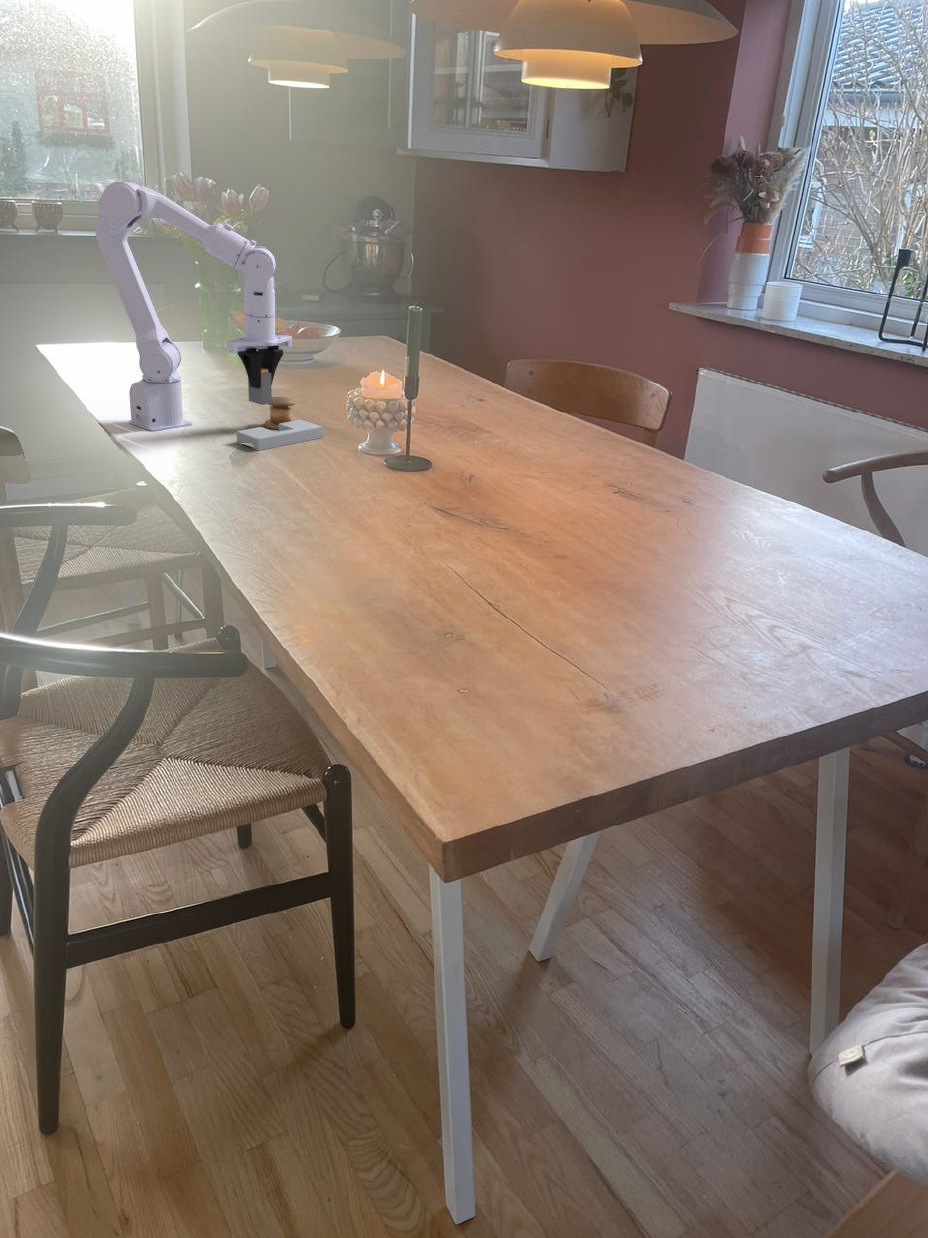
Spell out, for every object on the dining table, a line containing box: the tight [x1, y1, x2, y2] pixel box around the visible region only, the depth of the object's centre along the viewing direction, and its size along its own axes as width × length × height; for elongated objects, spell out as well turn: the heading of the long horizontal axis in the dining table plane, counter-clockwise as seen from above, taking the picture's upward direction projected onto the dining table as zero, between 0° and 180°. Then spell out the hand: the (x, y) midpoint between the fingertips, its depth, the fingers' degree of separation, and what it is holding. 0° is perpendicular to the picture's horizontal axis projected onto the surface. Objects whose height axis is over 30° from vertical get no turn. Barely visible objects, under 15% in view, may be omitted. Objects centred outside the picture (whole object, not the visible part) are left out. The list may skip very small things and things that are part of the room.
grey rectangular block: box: [247, 368, 273, 406], centre depth 187 cm, size 2×4×7 cm, turn 51°
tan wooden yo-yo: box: [264, 396, 296, 431], centre depth 192 cm, size 6×6×5 cm
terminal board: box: [236, 419, 324, 452], centre depth 183 cm, size 16×6×2 cm, turn 140°
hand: (261, 386), depth 187 cm, fingers closed on grey rectangular block, 2 cm apart
